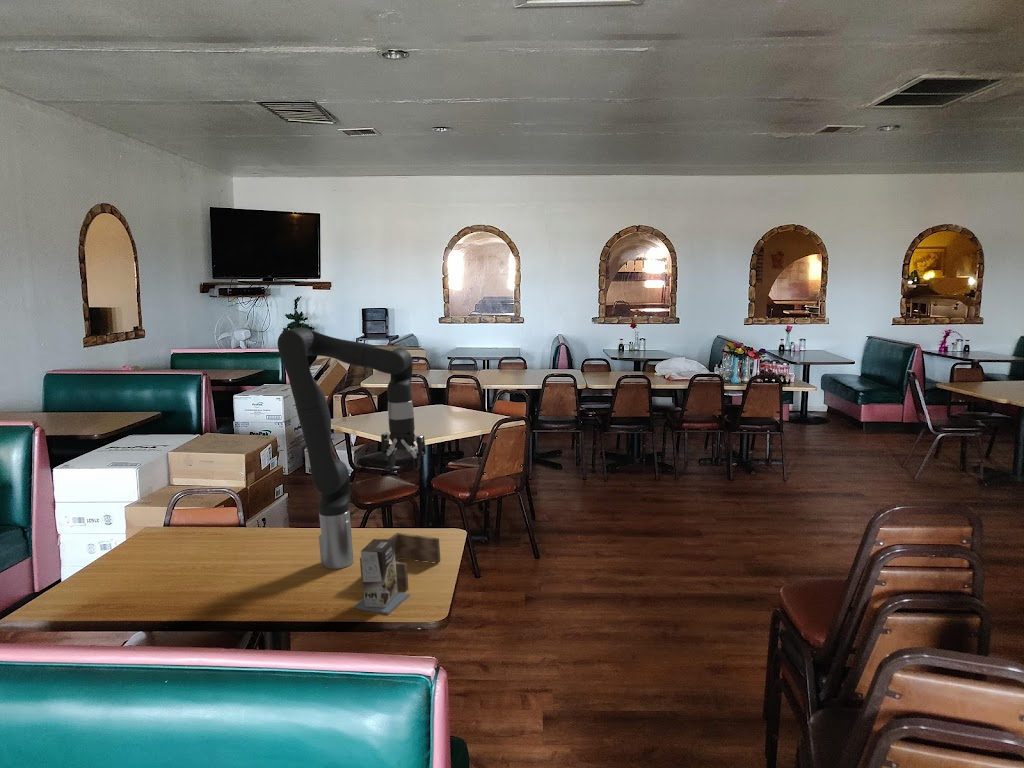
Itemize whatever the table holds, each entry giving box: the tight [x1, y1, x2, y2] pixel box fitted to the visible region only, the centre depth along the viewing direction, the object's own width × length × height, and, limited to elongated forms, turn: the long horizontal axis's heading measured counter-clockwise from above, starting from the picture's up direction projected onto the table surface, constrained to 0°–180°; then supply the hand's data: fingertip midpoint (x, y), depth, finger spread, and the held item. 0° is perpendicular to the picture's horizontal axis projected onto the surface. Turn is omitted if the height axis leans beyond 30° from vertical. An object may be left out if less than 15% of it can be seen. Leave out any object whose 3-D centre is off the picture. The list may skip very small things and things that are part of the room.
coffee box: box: [360, 538, 399, 608], centre depth 191 cm, size 9×6×16 cm
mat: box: [353, 591, 411, 615], centre depth 192 cm, size 11×11×1 cm
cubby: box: [359, 532, 441, 592], centre depth 209 cm, size 15×20×8 cm
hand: (404, 468), depth 209 cm, fingers open, 8 cm apart
